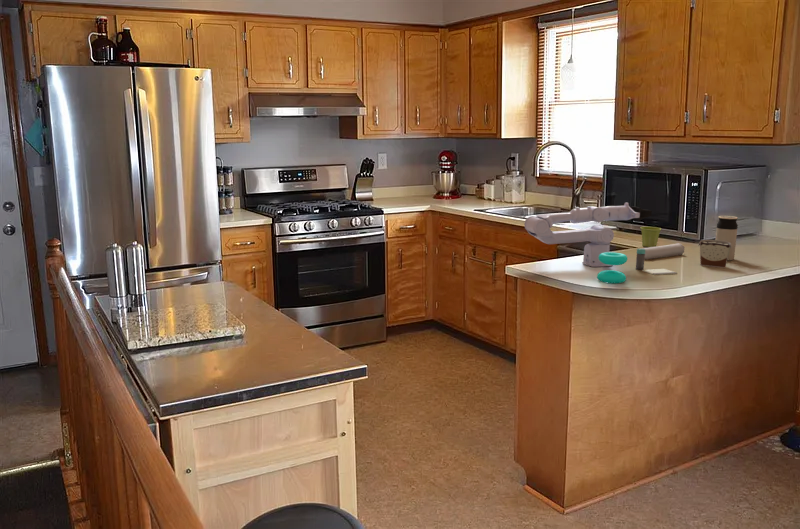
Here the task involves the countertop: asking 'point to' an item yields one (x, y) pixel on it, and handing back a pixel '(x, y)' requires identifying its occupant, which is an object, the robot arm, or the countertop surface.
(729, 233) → the travel mug
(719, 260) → the food container
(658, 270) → the notepad
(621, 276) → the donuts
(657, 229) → the plant pot
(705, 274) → the countertop surface
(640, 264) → the marker
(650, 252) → the tube
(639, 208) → the robot arm
